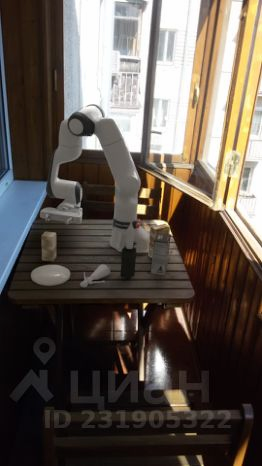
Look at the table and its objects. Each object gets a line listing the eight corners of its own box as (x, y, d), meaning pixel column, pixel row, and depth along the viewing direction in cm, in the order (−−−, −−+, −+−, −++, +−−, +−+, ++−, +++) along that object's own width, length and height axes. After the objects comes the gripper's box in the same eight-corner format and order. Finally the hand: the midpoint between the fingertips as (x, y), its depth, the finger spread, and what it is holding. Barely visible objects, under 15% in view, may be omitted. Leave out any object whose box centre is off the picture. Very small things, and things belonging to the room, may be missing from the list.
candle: (129, 279, 164) (133, 224, 154) (119, 276, 166) (122, 221, 156) (135, 274, 168) (139, 221, 158) (125, 271, 170) (128, 218, 160)
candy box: (152, 259, 183) (156, 229, 177) (147, 255, 186) (150, 226, 180) (167, 255, 188) (170, 226, 182) (161, 252, 191) (165, 223, 185)
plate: (74, 269, 169) (74, 267, 168) (63, 288, 154) (63, 286, 154) (39, 264, 170) (39, 262, 170) (24, 282, 156) (24, 280, 155)
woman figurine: (119, 266, 165) (92, 286, 151) (119, 275, 167) (92, 295, 153) (97, 258, 170) (69, 276, 157) (97, 267, 172) (70, 285, 159)
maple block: (56, 256, 179) (56, 232, 174) (52, 261, 174) (52, 237, 169) (45, 255, 179) (45, 231, 174) (42, 260, 175) (41, 235, 170)
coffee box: (153, 264, 178) (156, 232, 172) (167, 266, 177) (171, 234, 171) (150, 273, 170) (153, 240, 164) (165, 275, 169) (168, 242, 163)
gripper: (45, 202, 195) (35, 211, 182) (85, 208, 193) (77, 218, 180) (45, 214, 197) (35, 224, 184) (84, 220, 195) (76, 230, 182)
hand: (56, 221), depth 182 cm, fingers open, 8 cm apart
